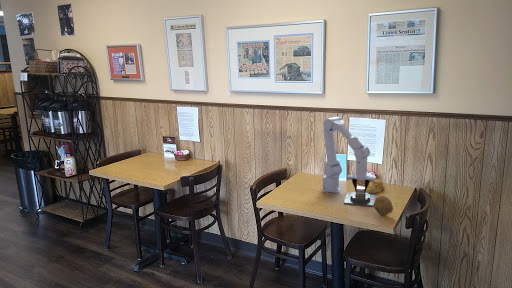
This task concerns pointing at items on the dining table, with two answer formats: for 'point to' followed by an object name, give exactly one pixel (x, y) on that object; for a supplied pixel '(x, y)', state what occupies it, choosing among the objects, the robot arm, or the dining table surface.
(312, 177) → the dining table surface
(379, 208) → the natural sponge
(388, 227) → the dining table surface
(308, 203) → the dining table surface
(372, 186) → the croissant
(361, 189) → the column
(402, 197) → the dining table surface
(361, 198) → the stand base
